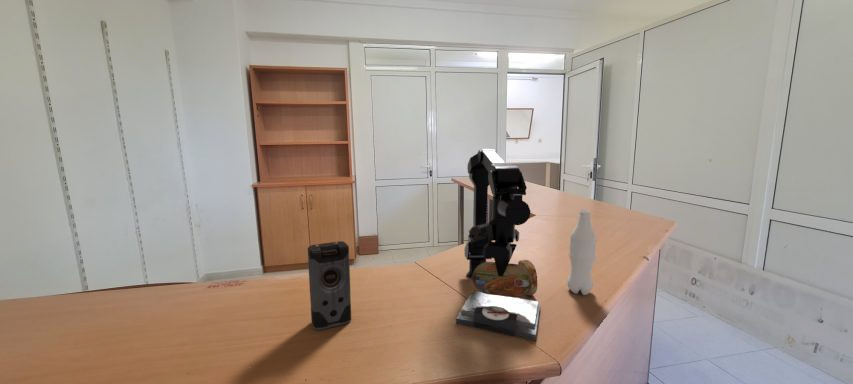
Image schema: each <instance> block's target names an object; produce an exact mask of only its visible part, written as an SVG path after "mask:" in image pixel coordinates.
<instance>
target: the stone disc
mask: <svg viewBox="0 0 853 384" xmlns="http://www.w3.org/2000/svg"><path fill="white" fill-rule="evenodd" d="M517 264H518V265H521V266H523V267H524V268H525V269H527V271H528V272H529V274H530V276H531V288H530V291H529V292H528V293H527V294H526V295H525V296H532V295H535V294H536V293H537V291H538V275H537V268H536V267H535V265H534V263H532V261H531V260H528V259H521V260H520V259H519V261H518V263H517Z"/></svg>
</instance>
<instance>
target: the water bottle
mask: <svg viewBox="0 0 853 384" xmlns="http://www.w3.org/2000/svg"><path fill="white" fill-rule="evenodd" d="M578 214H579V215H578V218H577V219H578V222H577V224H576V225H575V227H574V229H573V230H572V232H571V233H570V236H569V239H570V241H569V253H568V256H569V258H570V259H569V260H570V264H571V269H570V274H569V275H568V278H567V280H566V281H567V287H568V289H569V290H570V292H571V293H573V294H575V295H577V294H579V292H581V295H583V296H587V295H589V294H590V292H591V291H592V289H593V288H594V282H593V279H592V267H593V265H594V263H595V261H596V248H597V247H596V246H597V235H596V233H595V230H594V229H593V226H592V224H591V223H592V222H591V220H592V218H591V214H592V213H591V211H590V210H579V213H578Z"/></svg>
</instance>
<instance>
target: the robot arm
mask: <svg viewBox="0 0 853 384" xmlns="http://www.w3.org/2000/svg"><path fill="white" fill-rule="evenodd" d="M467 174H468V178H469V180H470V182H471V183H472V185H473V213H472V214H473V216H472V217H473V218H472V220H473V221H472V227H471V228H470V229H469V230H468V232H469V234H468V235H467V236H468V237H467V242H465V247H464V257H465V259H466V260H467V261H469V264H468V265H469V267H468V269H469V270H468V272H467V273H466V275H465V276H466V277H469V278H472V274H473V271H474V270H475V268H476V267H477V266H478V265H479V264H481V263H483V262H487V260H492V259H493V260H494V262H495V264H496V268H497V272H498V276H501V277H502V276H503V275H504V272H505V270H506V268H507V266H508V263H510V262H511V259H512V257H513V254H514V253H515V250H516V248H517V246H518V245H517V244H516V243H514V241H515V242H519V240H520V232H519V230H518V229H517V228H516V226H520V225H523V224H525V223H526V222H527V221H528V220H529V218H530V216H531V208H530V206H529V204H528V203H527V202H526V201H524V200H523V196H526V195H527V192H526V191H527V188H528V187H527V184H526V181H525V179H524V175H523V173H522V170H521V169H520V167H519V166H518V165H515V164H513V163H506V162H505V161H504V160H503V158H501V157H500V156H499V154H498V153H497V150H496V149H494V148H482V149H479V150H478V151H477V153H475V154H474V155H473V156H471V157H470V158H469V160H468V162H467ZM489 188H490V191H491V195H492V207H491V208H492V211H491V213H492V215H491V219H490V220H489V221H488V196H489V195H488V189H489Z"/></svg>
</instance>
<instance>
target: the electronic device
mask: <svg viewBox="0 0 853 384" xmlns="http://www.w3.org/2000/svg"><path fill="white" fill-rule="evenodd" d="M349 247H350V246H349V245H348V244H347V243H346V242H345V241H343V240H342V241H339V240H338V241H331V242H326V243H325V242H323V243H319V244H310V245H309V246H308V247H307V259H308V260H307V263H308V278H309V279H308V281H309V299H310V300H309V301H310V313H311V318H310V319H311V325H312V328H313V329H315V331H322V330H326V329H330V328H333V327H339V326H343V325H346V324H349V323H350V322H351V320H352V305H351V303H352V302H351V271H350V268H351V266H350V251H349V249H350V248H349Z"/></svg>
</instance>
